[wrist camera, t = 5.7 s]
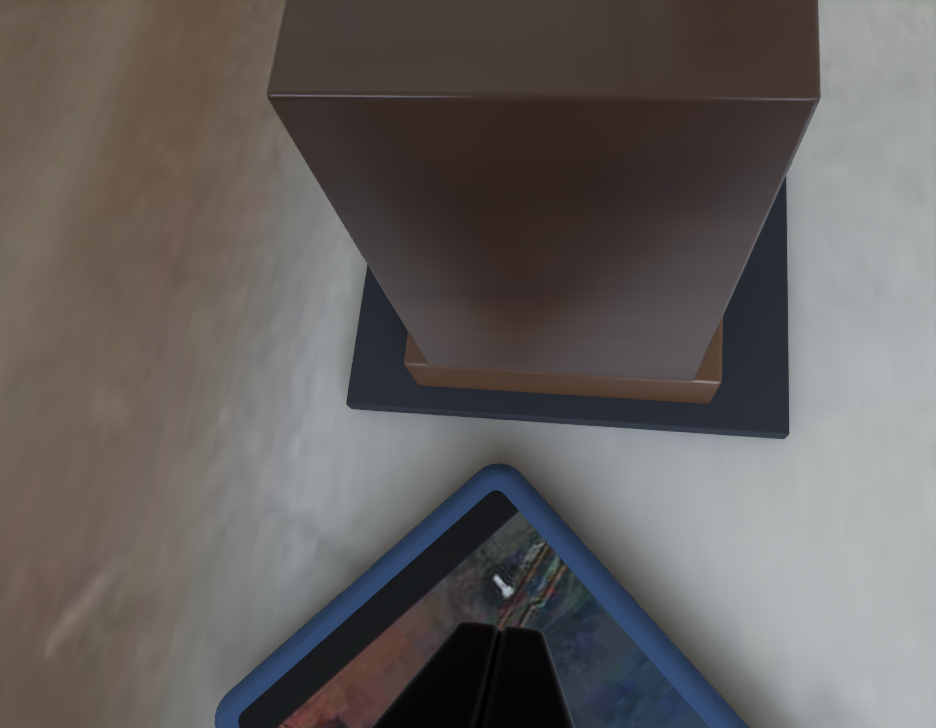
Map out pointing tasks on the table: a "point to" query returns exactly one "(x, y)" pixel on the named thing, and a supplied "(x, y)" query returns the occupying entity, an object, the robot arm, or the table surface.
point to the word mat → (729, 413)
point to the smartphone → (483, 601)
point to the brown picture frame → (553, 174)
